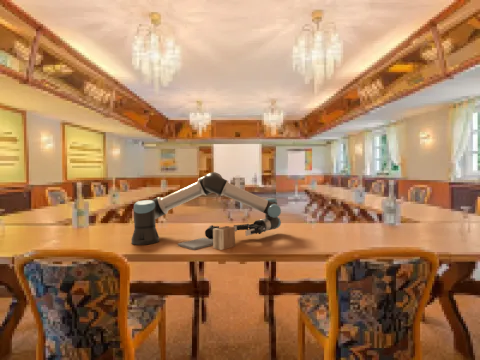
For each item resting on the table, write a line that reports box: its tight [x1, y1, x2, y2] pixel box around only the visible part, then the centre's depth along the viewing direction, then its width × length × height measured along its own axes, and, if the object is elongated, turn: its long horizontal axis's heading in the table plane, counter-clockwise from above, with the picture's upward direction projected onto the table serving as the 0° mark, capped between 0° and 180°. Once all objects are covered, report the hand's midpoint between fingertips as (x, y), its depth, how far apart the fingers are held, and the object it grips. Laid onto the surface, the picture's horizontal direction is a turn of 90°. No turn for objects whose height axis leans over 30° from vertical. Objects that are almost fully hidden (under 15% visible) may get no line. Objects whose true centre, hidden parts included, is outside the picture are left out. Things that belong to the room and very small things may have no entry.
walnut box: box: [212, 225, 236, 251], centre depth 153 cm, size 6×10×10 cm
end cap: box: [204, 224, 220, 240], centre depth 176 cm, size 10×7×7 cm
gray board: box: [177, 237, 213, 251], centre depth 159 cm, size 14×18×1 cm
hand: (236, 231), depth 159 cm, fingers open, 13 cm apart
